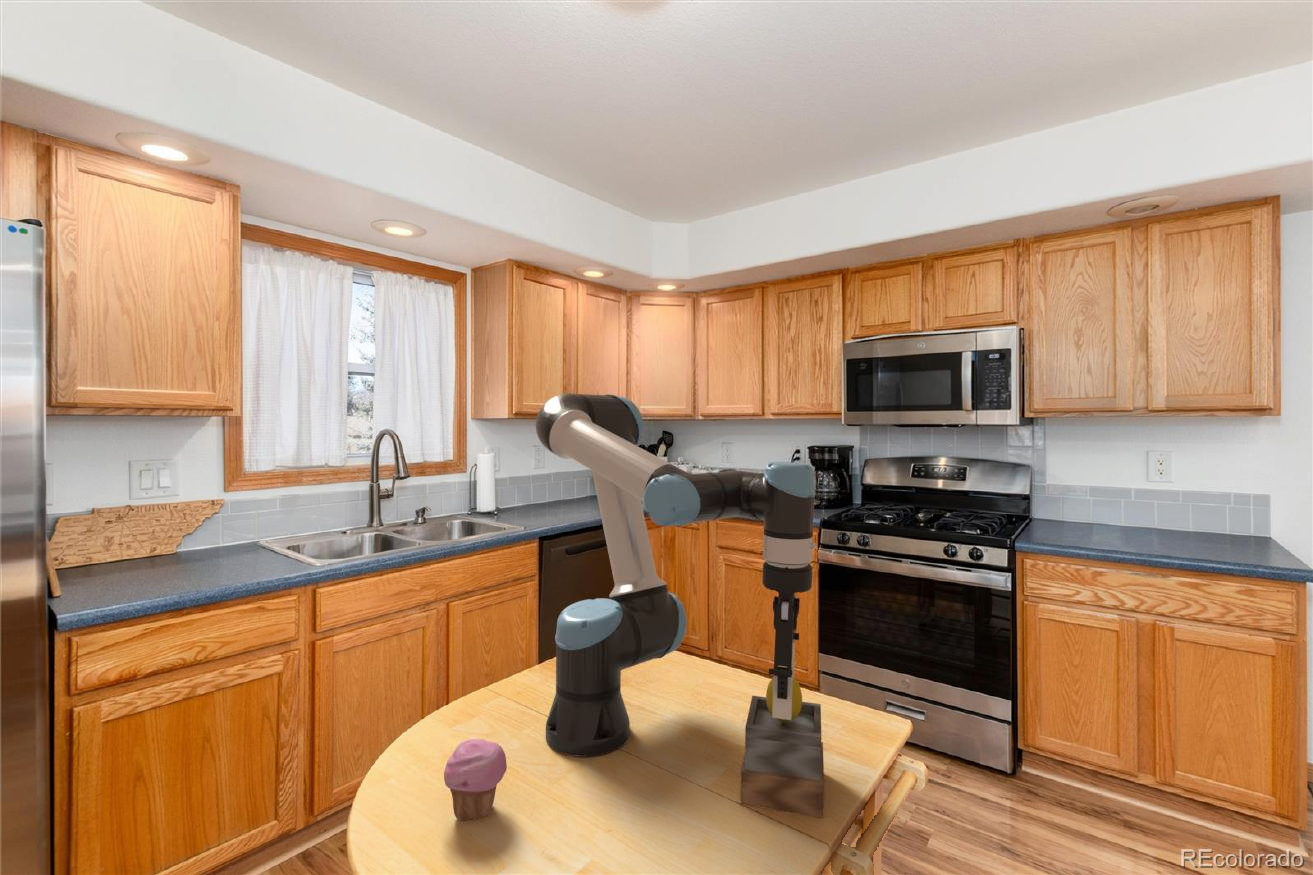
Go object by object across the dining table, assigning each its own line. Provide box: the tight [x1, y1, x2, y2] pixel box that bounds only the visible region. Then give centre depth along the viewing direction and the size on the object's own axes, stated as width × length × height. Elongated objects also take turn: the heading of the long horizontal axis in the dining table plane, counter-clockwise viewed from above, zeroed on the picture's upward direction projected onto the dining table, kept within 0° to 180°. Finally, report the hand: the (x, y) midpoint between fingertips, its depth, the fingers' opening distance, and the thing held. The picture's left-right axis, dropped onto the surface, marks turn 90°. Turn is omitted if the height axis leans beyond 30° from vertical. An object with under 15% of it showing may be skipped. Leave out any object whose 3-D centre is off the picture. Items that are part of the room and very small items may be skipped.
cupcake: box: [443, 738, 508, 821], centre depth 90 cm, size 9×9×10 cm
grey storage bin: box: [739, 695, 825, 819], centre depth 97 cm, size 12×12×12 cm
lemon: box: [765, 677, 803, 724], centre depth 97 cm, size 6×6×8 cm
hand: (783, 697), depth 97 cm, fingers open, 13 cm apart
